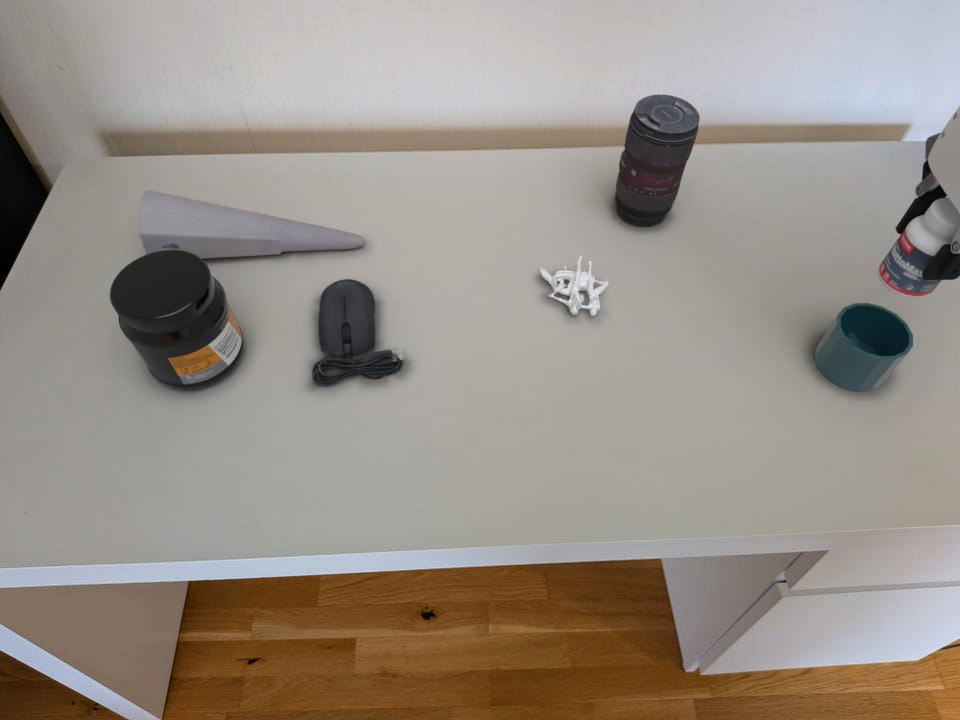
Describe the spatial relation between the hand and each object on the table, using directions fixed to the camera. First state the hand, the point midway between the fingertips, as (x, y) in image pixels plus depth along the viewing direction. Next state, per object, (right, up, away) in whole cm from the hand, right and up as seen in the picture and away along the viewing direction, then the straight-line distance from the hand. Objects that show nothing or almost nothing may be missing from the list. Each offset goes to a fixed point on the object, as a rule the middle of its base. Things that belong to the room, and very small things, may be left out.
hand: (925, 252), depth 64 cm
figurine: (-31, -2, +18) cm, 36 cm away
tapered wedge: (-70, +6, +24) cm, 74 cm away
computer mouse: (-57, -7, +14) cm, 59 cm away
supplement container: (-74, -10, +12) cm, 75 cm away
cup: (0, -11, +12) cm, 16 cm away
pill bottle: (0, -2, +3) cm, 4 cm away
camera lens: (-20, +10, +27) cm, 35 cm away
